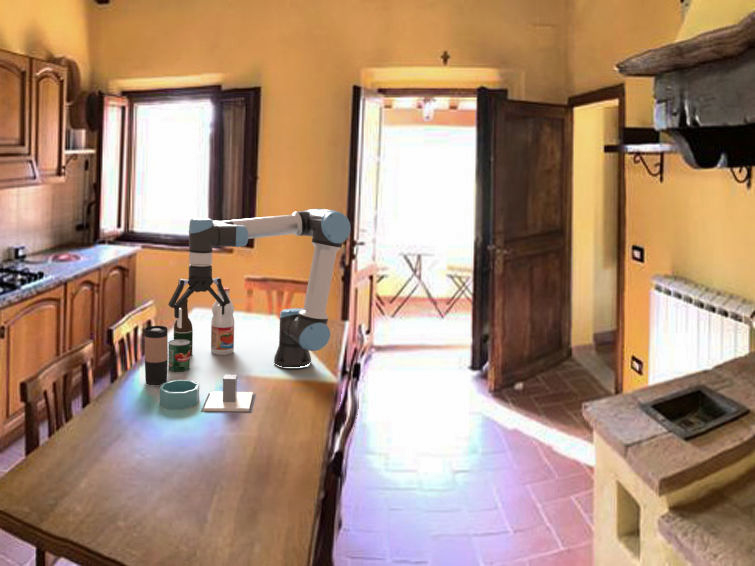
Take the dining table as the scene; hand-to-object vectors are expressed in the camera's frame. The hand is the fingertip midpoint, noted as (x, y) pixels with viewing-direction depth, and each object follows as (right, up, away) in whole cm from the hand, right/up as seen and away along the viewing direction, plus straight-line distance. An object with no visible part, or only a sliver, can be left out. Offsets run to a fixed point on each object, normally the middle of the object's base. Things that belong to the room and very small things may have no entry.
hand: (199, 325), depth 193 cm
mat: (+12, -26, -6) cm, 29 cm away
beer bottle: (-19, -16, +40) cm, 47 cm away
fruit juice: (-5, -15, +47) cm, 50 cm away
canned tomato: (-15, -19, +23) cm, 34 cm away
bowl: (-4, -25, -8) cm, 27 cm away
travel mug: (-18, -21, +9) cm, 29 cm away
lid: (+12, -25, -6) cm, 28 cm away
